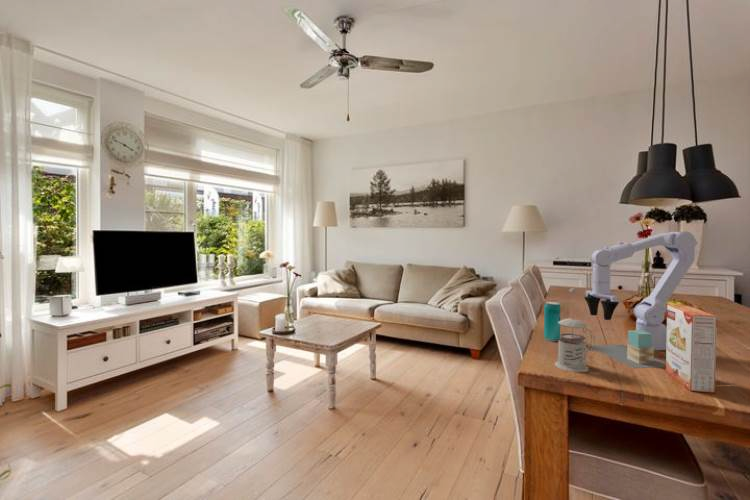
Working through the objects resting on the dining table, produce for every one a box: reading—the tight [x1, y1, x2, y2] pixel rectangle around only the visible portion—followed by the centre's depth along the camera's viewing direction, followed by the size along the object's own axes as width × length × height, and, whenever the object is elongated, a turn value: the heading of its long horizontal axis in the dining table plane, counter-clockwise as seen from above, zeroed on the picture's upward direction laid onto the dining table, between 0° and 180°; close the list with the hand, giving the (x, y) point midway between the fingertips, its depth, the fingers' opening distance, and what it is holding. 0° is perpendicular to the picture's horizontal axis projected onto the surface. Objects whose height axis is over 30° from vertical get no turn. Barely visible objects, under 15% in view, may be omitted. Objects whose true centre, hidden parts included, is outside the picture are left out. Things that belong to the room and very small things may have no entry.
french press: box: [554, 287, 596, 373], centre depth 116 cm, size 10×12×25 cm
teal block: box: [627, 329, 652, 348], centre depth 121 cm, size 4×4×4 cm
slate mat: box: [586, 344, 666, 369], centre depth 126 cm, size 14×23×1 cm, turn 5°
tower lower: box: [627, 351, 655, 364], centre depth 121 cm, size 5×5×2 cm
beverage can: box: [543, 301, 562, 342], centre depth 145 cm, size 6×6×15 cm
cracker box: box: [665, 304, 718, 394], centre depth 103 cm, size 14×6×21 cm, turn 163°
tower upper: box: [626, 343, 655, 356], centre depth 121 cm, size 5×5×2 cm
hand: (600, 317), depth 139 cm, fingers open, 7 cm apart
